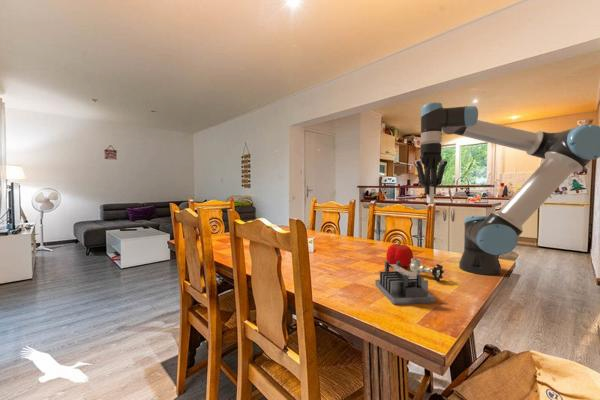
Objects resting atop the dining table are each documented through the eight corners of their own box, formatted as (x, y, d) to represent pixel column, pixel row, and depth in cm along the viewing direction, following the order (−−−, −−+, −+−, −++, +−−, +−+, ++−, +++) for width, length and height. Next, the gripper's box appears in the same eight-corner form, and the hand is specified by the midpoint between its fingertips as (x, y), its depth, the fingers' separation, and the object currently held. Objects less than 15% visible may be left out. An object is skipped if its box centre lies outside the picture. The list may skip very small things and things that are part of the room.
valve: (406, 275, 114) (434, 283, 104) (406, 259, 113) (434, 266, 104) (415, 272, 118) (443, 280, 108) (415, 256, 117) (444, 263, 107)
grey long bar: (388, 266, 103) (388, 261, 103) (396, 266, 103) (395, 260, 103) (408, 279, 87) (408, 272, 87) (417, 279, 87) (417, 272, 87)
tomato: (381, 263, 131) (381, 241, 130) (403, 262, 133) (403, 240, 133) (394, 271, 119) (394, 247, 119) (418, 269, 121) (418, 245, 121)
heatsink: (374, 284, 103) (374, 261, 103) (408, 283, 104) (409, 260, 104) (393, 304, 86) (393, 277, 85) (434, 303, 86) (435, 276, 86)
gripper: (441, 145, 115) (440, 202, 116) (410, 145, 114) (410, 202, 116) (452, 142, 108) (451, 203, 109) (419, 142, 107) (418, 203, 108)
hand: (430, 202), depth 112 cm, fingers closed
